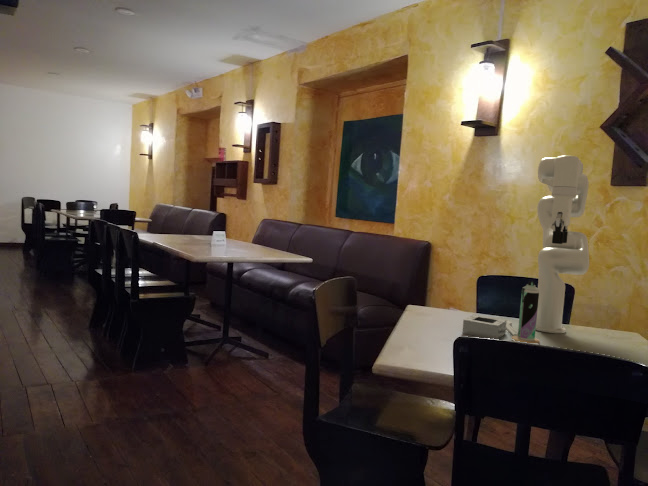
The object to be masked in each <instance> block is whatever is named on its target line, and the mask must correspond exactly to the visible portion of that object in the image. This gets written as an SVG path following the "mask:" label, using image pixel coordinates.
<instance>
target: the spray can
mask: <svg viewBox="0 0 648 486" xmlns="http://www.w3.org/2000/svg"><path fill="white" fill-rule="evenodd" d="M538 299H539V289H538V286H537V287H536V285H535V281H528V283H526V285H525V286H523V287H522V289H521V298H520V307H519V317H518V318H519V320H518V329H517V332H518V339H521V340H525V341H534V340H535V338H536V331H537V330H536V321H537V310H538Z"/></svg>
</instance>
